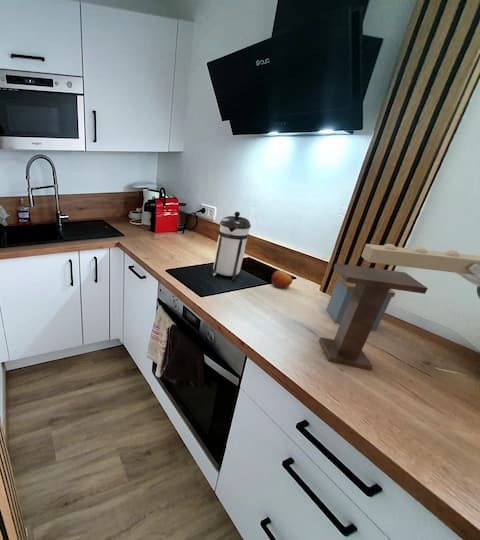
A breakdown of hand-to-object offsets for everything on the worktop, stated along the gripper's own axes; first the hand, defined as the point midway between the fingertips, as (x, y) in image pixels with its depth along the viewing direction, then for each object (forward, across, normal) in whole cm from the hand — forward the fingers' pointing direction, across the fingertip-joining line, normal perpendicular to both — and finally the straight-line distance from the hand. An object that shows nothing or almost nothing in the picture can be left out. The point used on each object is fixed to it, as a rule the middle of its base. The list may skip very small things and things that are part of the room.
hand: (461, 261), depth 66 cm
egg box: (+5, 0, +6) cm, 8 cm away
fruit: (+6, -45, +40) cm, 60 cm away
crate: (-12, -24, +30) cm, 41 cm away
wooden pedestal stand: (-4, -1, +35) cm, 35 cm away
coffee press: (+25, -50, +52) cm, 76 cm away
